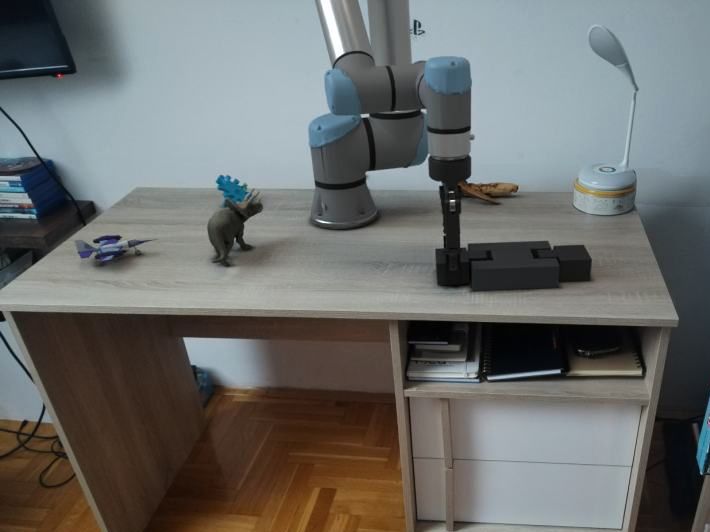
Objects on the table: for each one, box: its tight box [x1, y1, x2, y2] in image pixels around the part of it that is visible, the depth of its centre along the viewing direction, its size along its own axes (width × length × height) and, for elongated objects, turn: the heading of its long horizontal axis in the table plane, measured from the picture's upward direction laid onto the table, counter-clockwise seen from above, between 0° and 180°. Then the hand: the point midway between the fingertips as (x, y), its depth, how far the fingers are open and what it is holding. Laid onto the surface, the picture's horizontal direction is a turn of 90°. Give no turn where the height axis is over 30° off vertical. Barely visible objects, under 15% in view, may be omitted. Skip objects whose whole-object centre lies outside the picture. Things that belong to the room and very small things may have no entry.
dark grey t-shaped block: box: [434, 246, 487, 286], centre depth 123 cm, size 7×10×4 cm
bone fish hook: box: [457, 180, 520, 205], centre depth 162 cm, size 9×5×18 cm
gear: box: [214, 174, 255, 207], centre depth 159 cm, size 11×6×10 cm
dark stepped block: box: [537, 244, 593, 283], centre depth 124 cm, size 7×10×4 cm
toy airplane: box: [74, 234, 158, 266], centre depth 133 cm, size 13×14×4 cm
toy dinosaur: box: [206, 188, 264, 267], centre depth 131 cm, size 22×8×11 cm, turn 168°
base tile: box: [467, 240, 560, 292], centre depth 124 cm, size 12×16×4 cm
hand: (452, 275), depth 124 cm, fingers closed on dark grey t-shaped block, 7 cm apart
